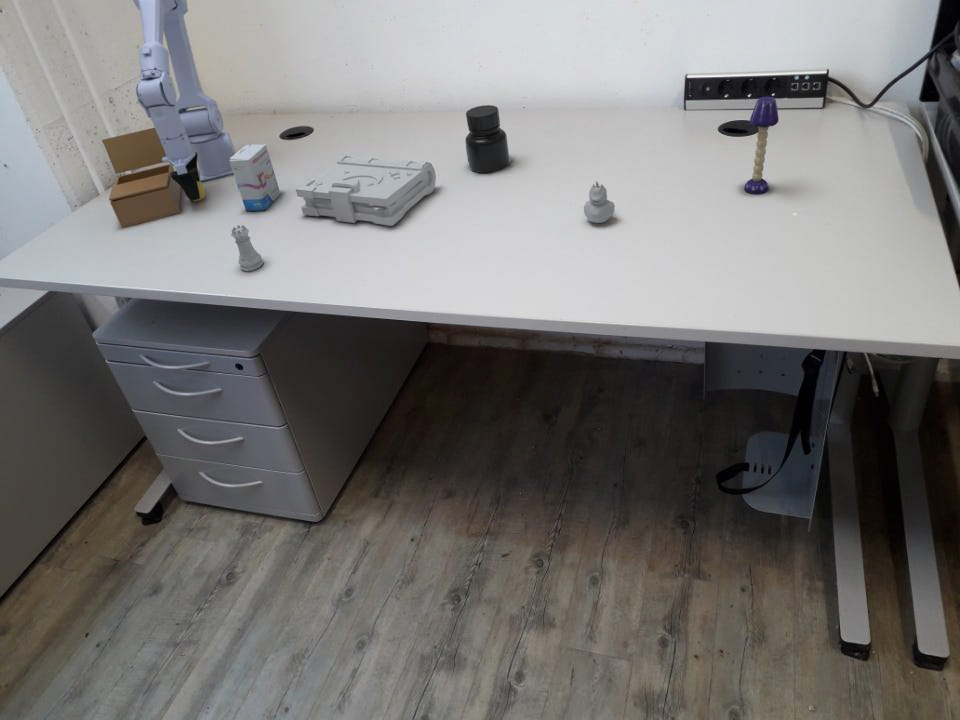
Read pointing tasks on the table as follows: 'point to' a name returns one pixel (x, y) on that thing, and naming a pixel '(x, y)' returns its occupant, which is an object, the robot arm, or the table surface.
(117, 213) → the bin
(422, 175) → the book
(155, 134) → the flap
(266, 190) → the ink box
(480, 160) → the ink bottle
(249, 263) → the rook chess piece
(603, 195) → the rubber duck
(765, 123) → the toy lamp
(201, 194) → the yellow ball
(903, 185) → the table surface
